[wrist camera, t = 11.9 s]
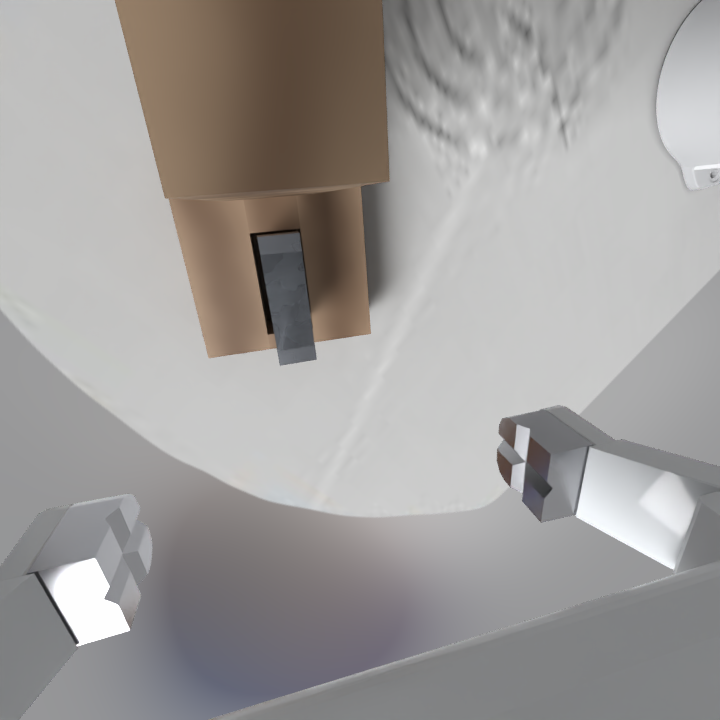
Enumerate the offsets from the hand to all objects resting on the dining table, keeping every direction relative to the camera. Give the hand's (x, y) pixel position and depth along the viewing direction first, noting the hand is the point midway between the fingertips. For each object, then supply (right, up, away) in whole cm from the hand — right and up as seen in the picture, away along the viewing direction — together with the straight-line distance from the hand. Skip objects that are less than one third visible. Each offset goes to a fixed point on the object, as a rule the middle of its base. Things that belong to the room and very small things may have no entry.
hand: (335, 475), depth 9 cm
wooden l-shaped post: (-7, +13, +24) cm, 28 cm away
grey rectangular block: (-6, +10, +24) cm, 27 cm away
